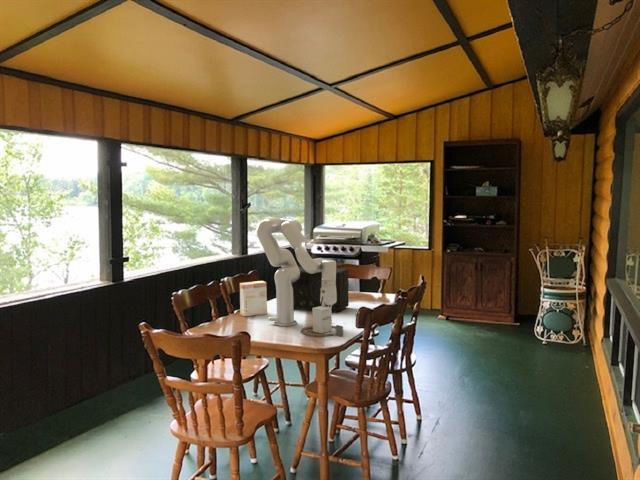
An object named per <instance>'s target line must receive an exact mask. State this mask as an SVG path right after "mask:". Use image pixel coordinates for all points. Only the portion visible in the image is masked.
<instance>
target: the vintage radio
mask: <svg viewBox="0 0 640 480" xmlns="http://www.w3.org/2000/svg"><path fill="white" fill-rule="evenodd" d="M298 268H299V270H300V277H299V279H298V280H297V281H295V282H293V283H291V284H292V287H293V296H294V310H296V309H298V310H299V309H300V310H312V308H315V307H320V306H322V304H320V294H321V287H322V286H321V284H322V272H317V273H313V274H310V273H308V272H306V271H305V270H304V269H303V267H302V266H298ZM349 281H350V280H349V269H348V268H338V267H336V292H337V301H336V303H334V304H333V305H332V308H331V312H333V313H338V312H340V311H343V310H344V309H345V308H347V307H349V305H350V304H349V303H350V302H349V301H350V300H349Z"/></svg>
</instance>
